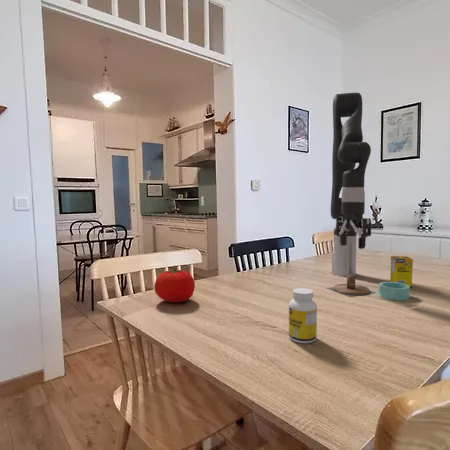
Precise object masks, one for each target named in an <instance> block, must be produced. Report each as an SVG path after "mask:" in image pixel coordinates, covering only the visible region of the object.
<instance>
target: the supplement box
mask: <svg viewBox="0 0 450 450" xmlns="http://www.w3.org/2000/svg"><path fill="white" fill-rule="evenodd" d="M413 263H414V259H413V258H411V257H409V256H405V255H391V256H390V275H389V276H390V277H389V278H390V281H389V282H397V283H402V284H406V285H408V286H410V289H412V288H413V286H412V285H413V265H414V264H413Z"/></svg>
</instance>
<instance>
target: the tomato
mask: <svg viewBox="0 0 450 450" xmlns="http://www.w3.org/2000/svg"><path fill="white" fill-rule="evenodd" d="M195 288H196V284H195V280H194V277H193V275H192V274H191V273H189V272H188V271H185V270H182V269H176V268H174V269H172V270H171V269H169V270H164V271H162V273H160V274H159V275H158V276H157V278H156V279H155V283H154V292H155V294H156V295H157V296H158V298H160V300H163V301H165V302H169V303H184V302H187V301H188V300H189V299H190V298H192V296H193V295H194V292H195Z"/></svg>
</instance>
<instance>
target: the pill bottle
mask: <svg viewBox="0 0 450 450" xmlns="http://www.w3.org/2000/svg"><path fill="white" fill-rule="evenodd" d="M292 297H293V299H291V300H290V301H289V303H288V337H289V339H290V340H291V341H293V342H295V343H297V344H298V343H299V344H311V343H313V342H315V341H316V339H317V336H318V335H317V334H318V333H317V327H318V325H317V323H318V319H317V318H318V306H317V305H318V304H317V303H316V301H314V300H313V298H314V291H313V289H310V288H305V287H304V288H303V287H301V288H300V287H299V288H294V289H292Z"/></svg>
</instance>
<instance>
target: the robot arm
mask: <svg viewBox="0 0 450 450" xmlns="http://www.w3.org/2000/svg"><path fill="white" fill-rule="evenodd" d="M342 118H348V119H347V120H346V121H345V122H344V123H342ZM362 120H363V97H362V93H360V92H347V93H346V92H344V93H336V94H335V95H334V96H333V99H332V125H333V126H332V127H333V133H332V134H333V135H332V136H333V137H332V140H333V141H332V156H331V157H332V162H331V163H332V165H331V166H332V169H331V171H332V172H331V173H332V175H331V176H332V182H331V184H332V186H331V196H330V198H331V199H330V217H331V218H332V220H336V221H335V222H336V223H335V228H334V229H333V251H332V252H331V274H333V275H334V276H338V277H345V278H347V275H355V276H356V275H357V248H358V249H360V250H362V249H363V250H364V249H365V248H366V245H367V244H366V241H367V240H366V239H367V238H368V237H371V236H372V219H371V218H367V217H365V218H364V214H365V213H366V212H365V210H366V208H365V205H366V202H365V201H366V192H365V175H366V169H367V165H368V164H369V163H368V162H369V159H370V156H371V151H372V148H371V146H370V143H368V142H366V141H364V136H363V129H362ZM357 164H358V165H357ZM356 165H357V167H356ZM341 190H342V191H341ZM340 194H341V197H340ZM357 237H358V239H357ZM357 240H358V244H357Z"/></svg>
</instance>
